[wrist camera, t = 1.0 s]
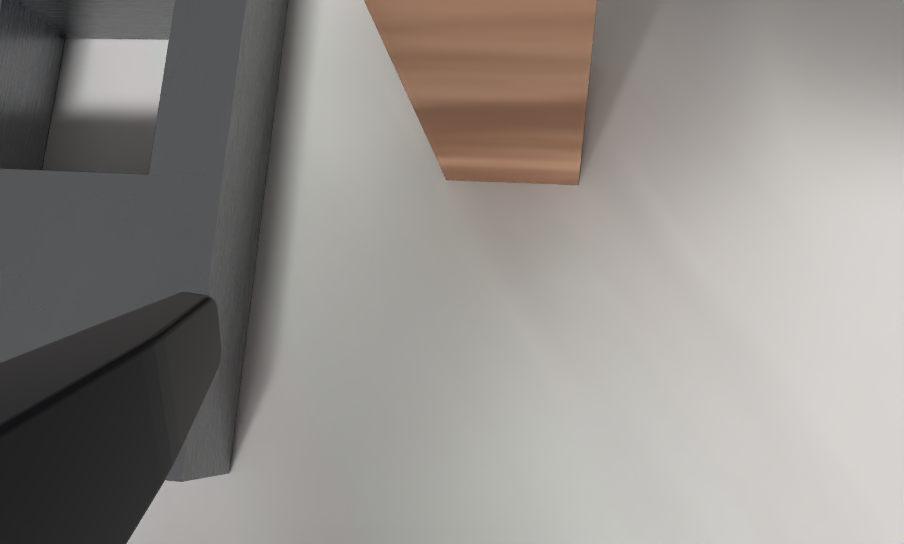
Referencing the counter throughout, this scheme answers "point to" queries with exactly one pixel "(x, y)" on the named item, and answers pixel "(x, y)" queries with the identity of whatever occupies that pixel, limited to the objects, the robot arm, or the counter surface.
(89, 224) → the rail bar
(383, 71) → the counter surface
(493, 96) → the square peg
